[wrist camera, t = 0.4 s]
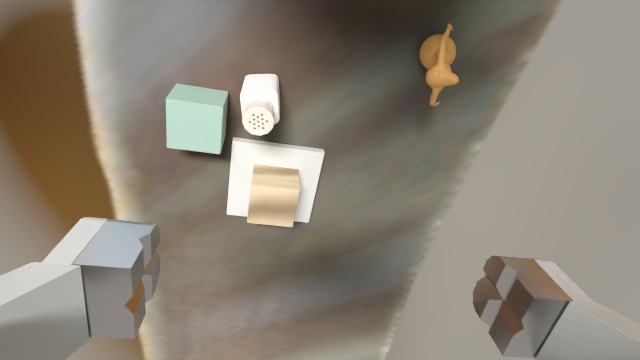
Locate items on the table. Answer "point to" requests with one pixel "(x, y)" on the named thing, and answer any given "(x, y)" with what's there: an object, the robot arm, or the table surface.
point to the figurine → (438, 62)
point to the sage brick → (196, 118)
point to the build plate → (272, 155)
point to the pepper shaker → (260, 103)
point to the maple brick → (273, 195)
